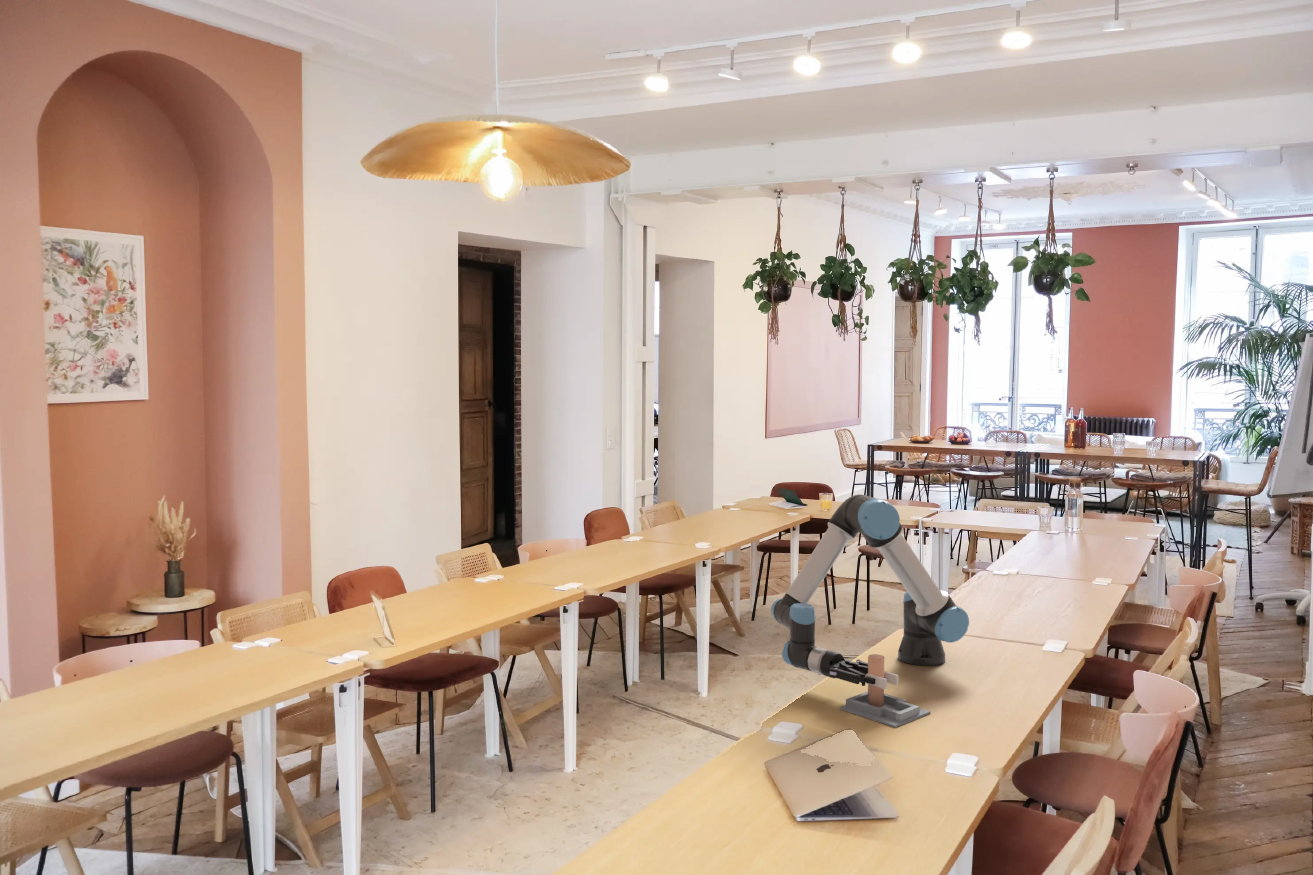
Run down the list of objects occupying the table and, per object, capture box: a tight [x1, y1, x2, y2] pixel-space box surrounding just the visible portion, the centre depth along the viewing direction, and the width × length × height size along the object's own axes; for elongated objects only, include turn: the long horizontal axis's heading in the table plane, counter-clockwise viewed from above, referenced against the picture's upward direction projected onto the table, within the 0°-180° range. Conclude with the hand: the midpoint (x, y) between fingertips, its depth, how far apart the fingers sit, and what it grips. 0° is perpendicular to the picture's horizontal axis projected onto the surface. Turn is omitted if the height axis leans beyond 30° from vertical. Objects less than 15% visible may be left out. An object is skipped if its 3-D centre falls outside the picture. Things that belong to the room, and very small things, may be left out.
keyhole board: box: [839, 690, 931, 728], centre depth 276 cm, size 16×19×3 cm
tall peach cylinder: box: [867, 653, 885, 707], centre depth 277 cm, size 4×4×14 cm
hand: (891, 681), depth 273 cm, fingers closed on tall peach cylinder, 4 cm apart
